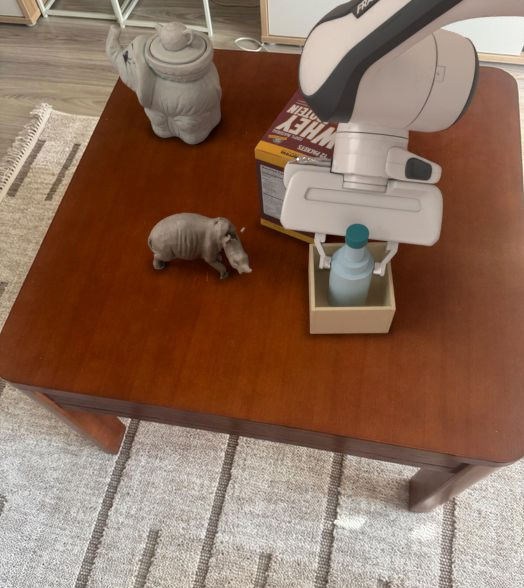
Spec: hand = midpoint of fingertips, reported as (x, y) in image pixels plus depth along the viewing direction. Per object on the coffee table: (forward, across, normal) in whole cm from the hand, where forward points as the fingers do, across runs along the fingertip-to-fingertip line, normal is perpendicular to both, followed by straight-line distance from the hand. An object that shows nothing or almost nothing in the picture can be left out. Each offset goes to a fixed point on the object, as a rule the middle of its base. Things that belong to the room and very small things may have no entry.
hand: (351, 271), depth 70 cm
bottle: (+5, 0, +6) cm, 8 cm away
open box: (+5, 0, +6) cm, 8 cm away
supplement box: (-7, -8, +19) cm, 22 cm away
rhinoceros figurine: (+3, -22, +9) cm, 24 cm away
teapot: (-18, -35, +30) cm, 50 cm away
